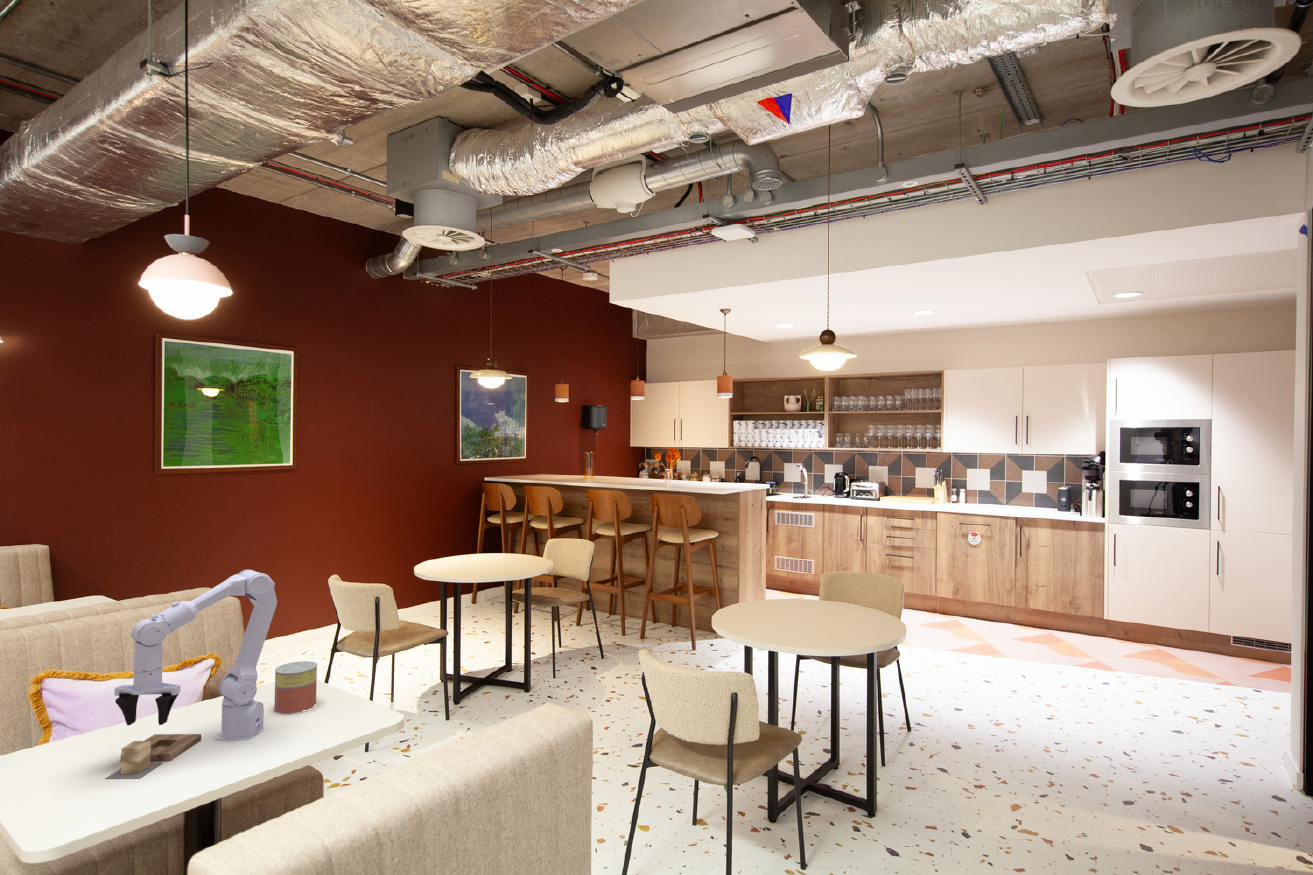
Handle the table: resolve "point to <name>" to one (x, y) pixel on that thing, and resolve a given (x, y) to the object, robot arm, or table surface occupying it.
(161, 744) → the pocket block
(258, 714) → the robot arm
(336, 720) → the table surface
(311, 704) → the canned food
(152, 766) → the rubber mat
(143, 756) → the birch peg
